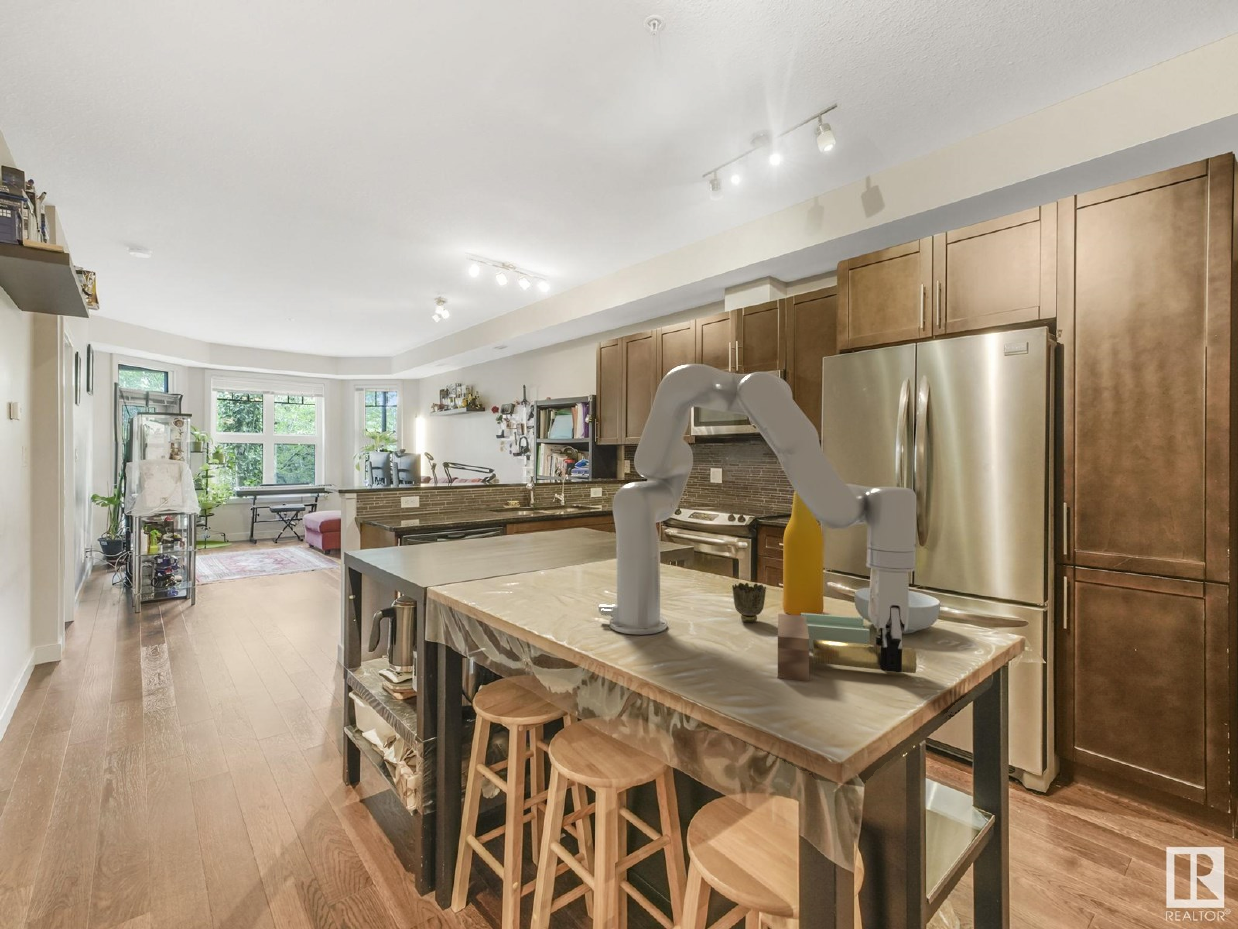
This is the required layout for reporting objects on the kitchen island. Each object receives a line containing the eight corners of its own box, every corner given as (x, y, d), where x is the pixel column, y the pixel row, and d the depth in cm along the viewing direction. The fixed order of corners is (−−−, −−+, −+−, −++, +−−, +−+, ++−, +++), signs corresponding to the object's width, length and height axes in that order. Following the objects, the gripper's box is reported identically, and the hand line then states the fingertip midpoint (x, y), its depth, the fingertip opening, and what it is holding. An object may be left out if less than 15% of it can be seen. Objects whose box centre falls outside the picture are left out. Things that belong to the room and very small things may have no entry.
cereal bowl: (912, 646, 110) (912, 610, 110) (838, 625, 124) (838, 593, 124) (955, 631, 120) (955, 598, 119) (882, 613, 133) (882, 583, 133)
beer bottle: (811, 606, 139) (812, 490, 139) (831, 617, 130) (831, 492, 130) (776, 608, 138) (776, 490, 137) (793, 618, 129) (793, 492, 128)
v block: (802, 648, 109) (802, 625, 109) (800, 634, 117) (800, 612, 117) (869, 654, 105) (869, 630, 105) (862, 639, 114) (862, 617, 114)
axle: (814, 666, 98) (814, 645, 97) (812, 656, 101) (813, 635, 101) (915, 677, 93) (917, 655, 93) (910, 666, 97) (911, 644, 96)
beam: (777, 677, 94) (777, 636, 94) (778, 650, 108) (778, 614, 107) (808, 681, 93) (809, 639, 93) (805, 652, 106) (805, 616, 106)
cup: (729, 623, 125) (729, 588, 125) (735, 615, 131) (735, 581, 131) (763, 627, 122) (763, 591, 122) (768, 618, 129) (768, 584, 129)
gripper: (860, 550, 105) (858, 647, 105) (874, 567, 88) (871, 682, 89) (904, 552, 102) (902, 652, 103) (927, 570, 86) (924, 688, 87)
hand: (888, 664), depth 96 cm, fingers closed on axle, 4 cm apart
